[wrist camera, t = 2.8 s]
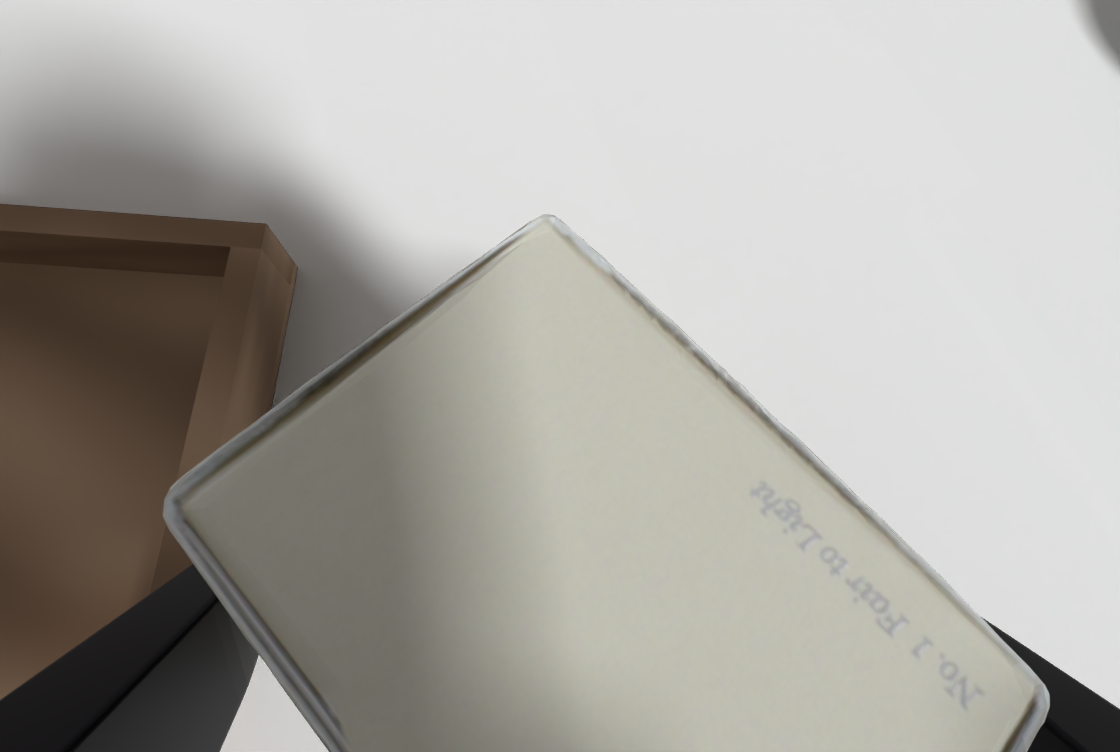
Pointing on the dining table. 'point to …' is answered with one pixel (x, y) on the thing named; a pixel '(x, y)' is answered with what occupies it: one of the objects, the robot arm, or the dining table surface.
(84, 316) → the walnut tray
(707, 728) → the skincare box
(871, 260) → the dining table surface
